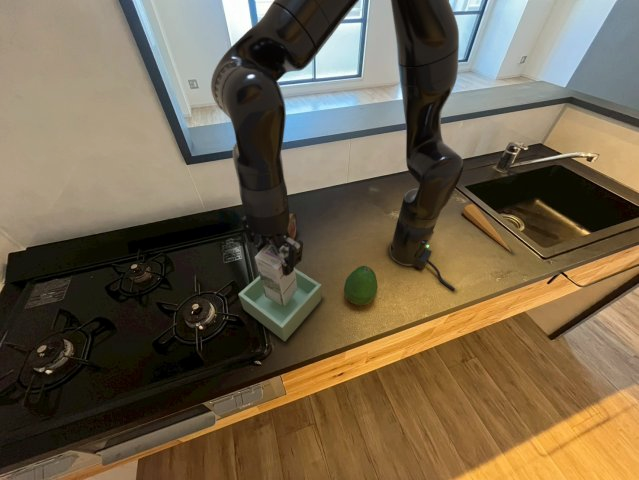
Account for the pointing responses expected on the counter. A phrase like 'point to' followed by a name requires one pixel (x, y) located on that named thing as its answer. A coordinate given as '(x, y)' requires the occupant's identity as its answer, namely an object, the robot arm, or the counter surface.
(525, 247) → the counter surface
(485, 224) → the carrot
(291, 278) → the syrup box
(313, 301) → the mint storage bin
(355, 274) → the avocado
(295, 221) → the tin
